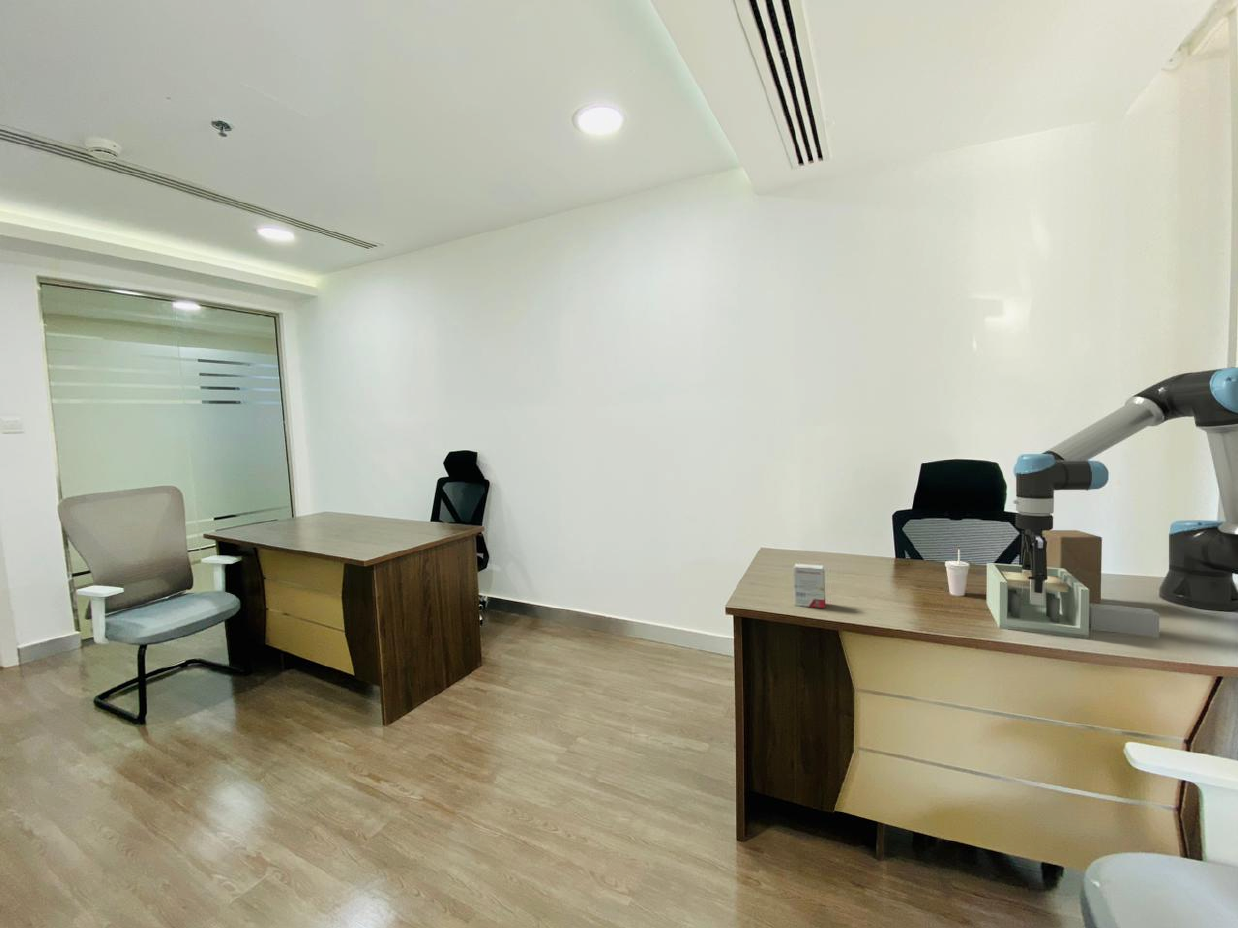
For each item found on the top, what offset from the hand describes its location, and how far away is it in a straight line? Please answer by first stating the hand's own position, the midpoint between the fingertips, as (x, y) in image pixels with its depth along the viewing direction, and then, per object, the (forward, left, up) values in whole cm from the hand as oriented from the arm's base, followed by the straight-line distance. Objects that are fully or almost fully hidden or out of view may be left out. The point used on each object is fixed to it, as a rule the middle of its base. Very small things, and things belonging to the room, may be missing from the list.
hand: (1032, 599), depth 130 cm
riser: (-17, 0, -6) cm, 18 cm away
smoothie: (+15, -17, -6) cm, 23 cm away
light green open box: (0, 0, -6) cm, 6 cm away
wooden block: (-12, -21, -6) cm, 25 cm away
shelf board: (0, 0, +4) cm, 4 cm away
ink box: (+54, +10, -6) cm, 55 cm away
